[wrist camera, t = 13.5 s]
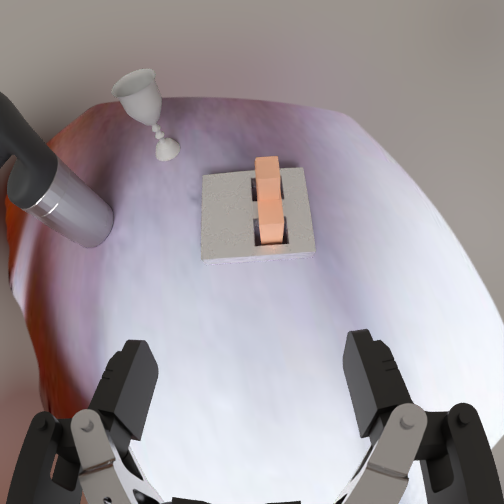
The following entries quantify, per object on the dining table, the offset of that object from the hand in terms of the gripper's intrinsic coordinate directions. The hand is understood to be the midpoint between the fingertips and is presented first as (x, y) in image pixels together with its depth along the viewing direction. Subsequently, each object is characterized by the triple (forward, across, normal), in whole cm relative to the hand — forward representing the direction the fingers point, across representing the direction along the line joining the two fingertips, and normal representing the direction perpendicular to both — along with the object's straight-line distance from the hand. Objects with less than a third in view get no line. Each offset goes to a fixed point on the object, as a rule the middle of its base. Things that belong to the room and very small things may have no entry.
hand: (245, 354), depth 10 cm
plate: (+33, 0, +7) cm, 34 cm away
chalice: (+45, +16, -4) cm, 48 cm away
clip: (+33, -2, +7) cm, 34 cm away
